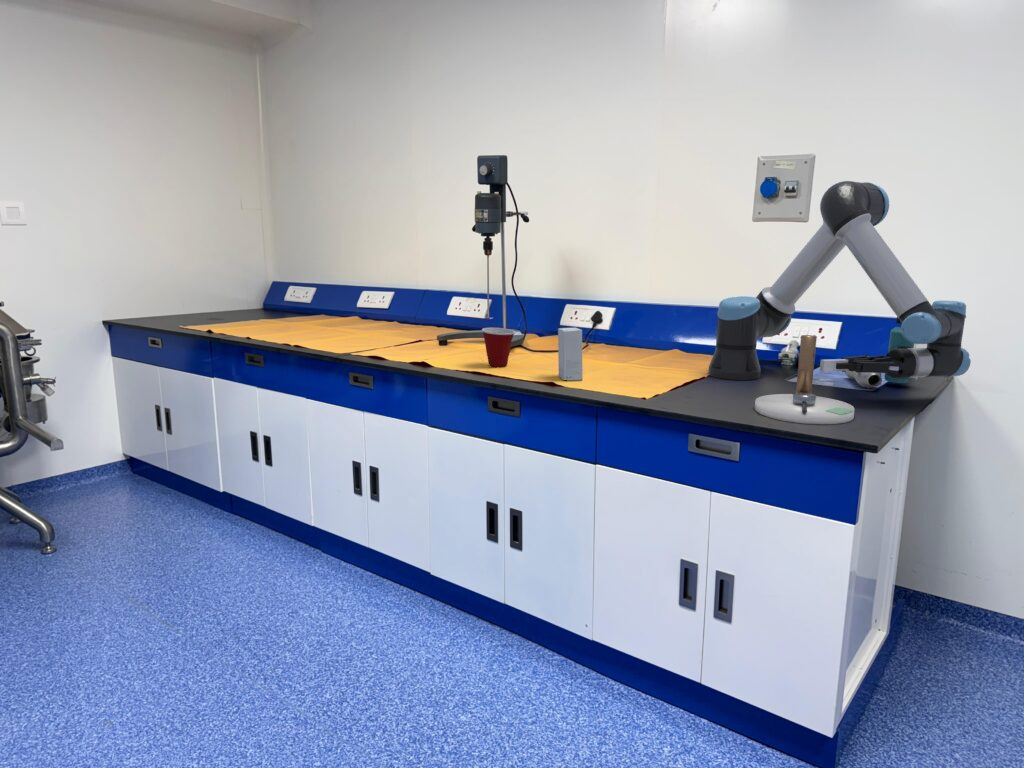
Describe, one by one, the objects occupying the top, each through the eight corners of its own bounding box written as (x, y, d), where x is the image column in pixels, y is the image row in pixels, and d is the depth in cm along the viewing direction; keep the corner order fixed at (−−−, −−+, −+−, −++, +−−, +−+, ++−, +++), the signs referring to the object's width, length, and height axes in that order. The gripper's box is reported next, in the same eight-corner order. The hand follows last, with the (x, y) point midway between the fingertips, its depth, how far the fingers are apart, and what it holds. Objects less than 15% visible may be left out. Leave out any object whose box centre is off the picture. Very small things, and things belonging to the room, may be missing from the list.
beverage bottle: (878, 383, 201) (886, 314, 197) (900, 383, 202) (908, 314, 198) (892, 388, 195) (900, 316, 191) (914, 388, 195) (923, 316, 191)
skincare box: (582, 380, 204) (584, 330, 201) (562, 381, 203) (563, 330, 200) (576, 375, 212) (577, 326, 209) (556, 375, 211) (557, 326, 208)
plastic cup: (508, 370, 219) (508, 332, 217) (476, 367, 223) (476, 330, 221) (520, 364, 229) (520, 328, 227) (489, 362, 233) (489, 326, 231)
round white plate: (752, 418, 162) (753, 409, 162) (756, 398, 182) (757, 390, 182) (857, 428, 154) (858, 418, 154) (850, 406, 174) (851, 397, 174)
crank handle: (816, 414, 157) (822, 348, 154) (792, 412, 159) (798, 346, 156) (814, 394, 177) (819, 335, 173) (792, 392, 178) (797, 334, 175)
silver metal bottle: (865, 378, 209) (887, 392, 190) (840, 377, 210) (860, 391, 191) (867, 357, 208) (889, 369, 188) (843, 356, 209) (862, 368, 190)
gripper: (924, 382, 172) (836, 385, 169) (888, 372, 185) (805, 375, 181) (927, 352, 171) (839, 355, 167) (891, 344, 183) (808, 346, 180)
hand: (822, 365), depth 174 cm, fingers closed
